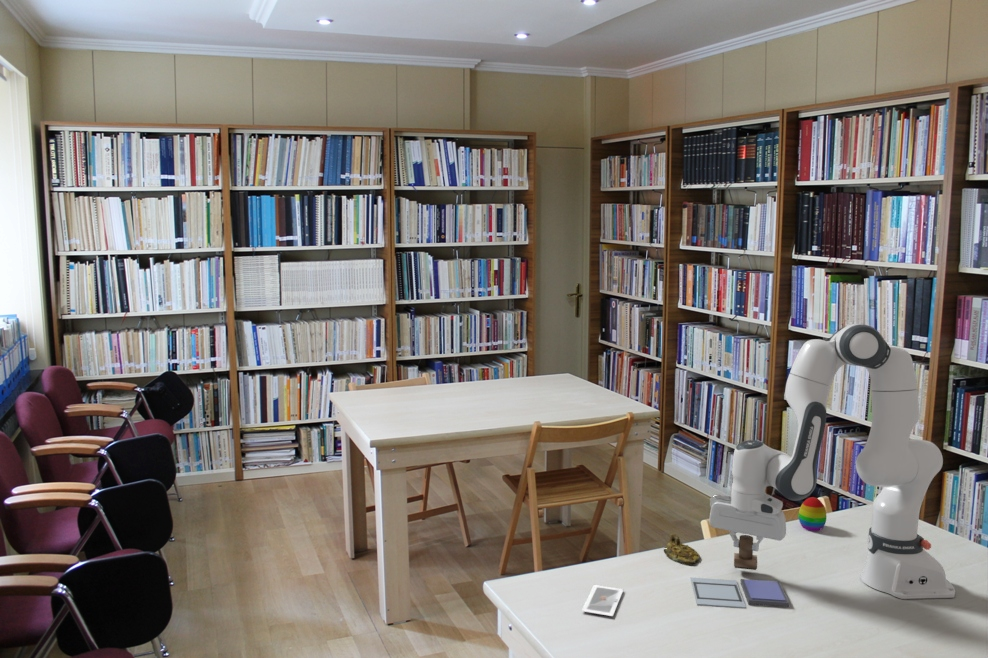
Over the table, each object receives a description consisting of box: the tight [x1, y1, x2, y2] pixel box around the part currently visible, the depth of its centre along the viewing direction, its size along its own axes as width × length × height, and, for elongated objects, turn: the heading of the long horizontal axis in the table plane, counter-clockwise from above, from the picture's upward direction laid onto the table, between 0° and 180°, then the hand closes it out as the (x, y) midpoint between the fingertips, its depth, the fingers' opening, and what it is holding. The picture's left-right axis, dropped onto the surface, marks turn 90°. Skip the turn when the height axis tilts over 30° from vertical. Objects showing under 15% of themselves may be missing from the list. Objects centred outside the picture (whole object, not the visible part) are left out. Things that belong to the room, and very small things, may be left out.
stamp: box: [733, 534, 758, 571], centre depth 221 cm, size 6×4×8 cm, turn 73°
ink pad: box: [739, 578, 790, 608], centre depth 209 cm, size 10×12×2 cm
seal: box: [663, 533, 701, 566], centre depth 233 cm, size 9×5×15 cm
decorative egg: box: [798, 496, 827, 532], centre depth 253 cm, size 8×8×10 cm
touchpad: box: [581, 584, 624, 617], centre depth 205 cm, size 8×15×2 cm, turn 161°
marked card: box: [690, 576, 747, 609], centre depth 210 cm, size 12×15×1 cm
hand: (746, 548), depth 221 cm, fingers closed on stamp, 4 cm apart
